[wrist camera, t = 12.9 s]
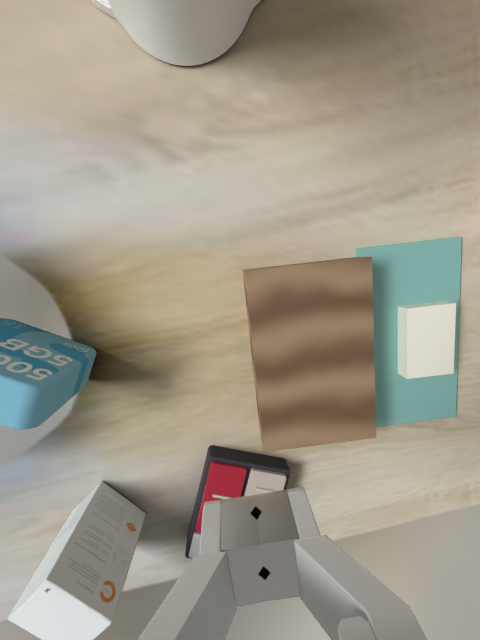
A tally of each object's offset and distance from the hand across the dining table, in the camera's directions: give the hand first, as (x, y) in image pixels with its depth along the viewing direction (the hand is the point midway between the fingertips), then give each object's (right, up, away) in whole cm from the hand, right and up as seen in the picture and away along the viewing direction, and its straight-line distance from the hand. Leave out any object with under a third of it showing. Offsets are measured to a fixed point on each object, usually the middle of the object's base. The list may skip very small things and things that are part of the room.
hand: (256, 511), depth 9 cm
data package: (-24, +2, +28) cm, 37 cm away
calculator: (-1, -19, +34) cm, 39 cm away
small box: (-19, -21, +33) cm, 43 cm away
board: (+8, +2, +29) cm, 31 cm away
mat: (+21, +4, +30) cm, 37 cm away
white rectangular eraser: (+23, +3, +29) cm, 37 cm away
